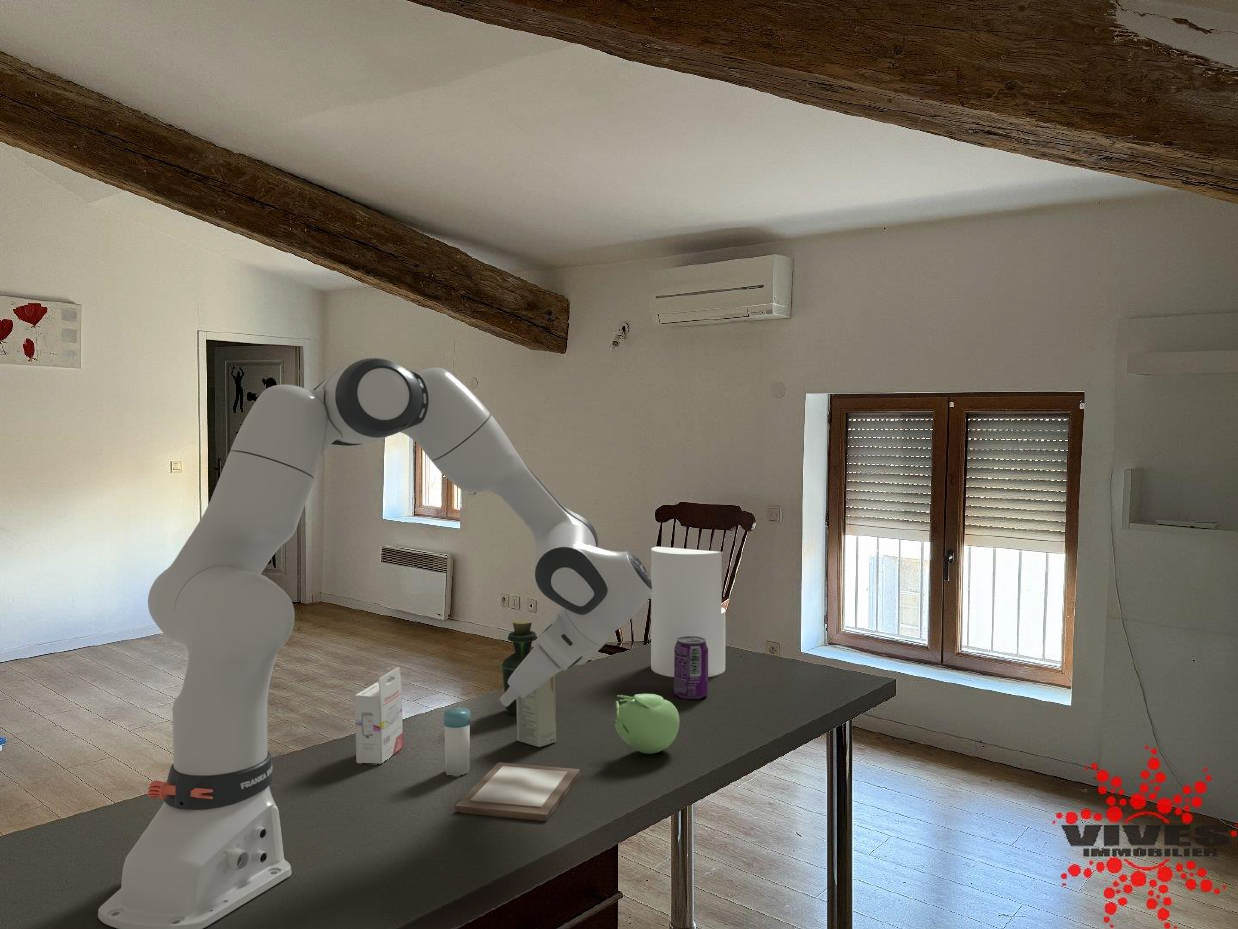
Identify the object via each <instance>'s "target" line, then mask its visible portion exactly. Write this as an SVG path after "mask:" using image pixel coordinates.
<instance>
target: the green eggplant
mask: <svg viewBox="0 0 1238 929" xmlns="http://www.w3.org/2000/svg"><path fill="white" fill-rule="evenodd" d="M616 696H617V698H621V699H619V700H616V701H615V709H616V719H614V721H615V723H614V728H615V730H616V731H617V734H618V735H619V737H620V738H621V739H622V740H623V741H624V742H625V743H626V744H627V745H630V746H633V748H634V750H636V751H638V752H639V753H642V754H650V755H651V754H657V753H661V751H664V750H665V749H667V748H668V747H670V745H671V744H672V743H673V742H674V741H675V739H676V737H677V736H678V732H679V729H680V721H681V720H680V715H679V714H680V713H679V712H678V709H677V708H676V706H675V705H674V704H673V703H672V702H671V701H669V700H667V699H664V697H663V696H661V695H658V694H655V693H637V694H634V695H633V696H629V695H624V694H620V695H619V694H617V695H616ZM625 701H626V702H625ZM619 702H624V703H622V704H619Z"/></svg>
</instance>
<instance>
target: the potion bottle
mask: <svg viewBox="0 0 1238 929" xmlns="http://www.w3.org/2000/svg"><path fill="white" fill-rule="evenodd" d="M532 623H533V621H532V620H530V619H516V620H512V625H513V629H514V630H513V631H510V632H508V636H507V641H508V642H511V643H512V645H513V648H514V652H513V653H512V654H509V656H507V657H506V658H504V659H503V662H502V663H501V669H502V670H501V671H502V681H503V690H504V693H505V692H506V691H507V690H508V688H509V687H510V686H509V684H508V680H509V678H510V676H511V675H512V673H513V672H514V671H515V670H516V668H517V667H518V666H519V665H520V664H521V662H522V661H523V660H524V659H525V658H526V656H527V655H528V654H529V653H530V652H531V648H532V645H533V644H532V643H533V642H534V641H537V639H538V636H537V633H536V632H535V631H533V630H532V629H531V628H532ZM504 693H503V694H504ZM505 711H506V713H507V714H508V715H510V716H515V717H517V704H516V699H515V700H514V701H513V702H512V703H511V704H510V705H509V706H505Z"/></svg>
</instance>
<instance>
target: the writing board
mask: <svg viewBox="0 0 1238 929" xmlns="http://www.w3.org/2000/svg"><path fill="white" fill-rule="evenodd" d="M580 776H581V769H580V768H579V769H578V768H568V767H559V766H545V765H534V764H523V763H521V764H520V763H509V762H500V761H498V762H497V763H496V764H495V765H494V766H493V767H492V768H491V769H490V770H489V771H488V772H487V773H486V774H485V775H484V776H483V777H482V778H481V779H480V781H478V782H477V783H476V784H475V785H474V786H473V787H472V789H470V791H469V792H467V794H465V795H464V796H463V798H461V799H460V800H459V801H458V803H457V804H455V806H454V807H455V810H454V812H455V813H457V812H460V813H459V814H467V815H477V816H488V817H498V818H500V817H501V818H510V819H517V820H527V821H528V820H531V821H538V822H539V821H541V822H547V821H548V820H549V819H550V818H551V816H552V815H553V813H554V812H555V811H556V809H557V808H558V807H559V805H560V804H561V802H562V801H563V799H564V798H565V797H566V795H567V794H568V793H569V792H570V789H572V787H573V786H574V785H575V783H576V782H577V780H578V779H579V778H580ZM468 813H469V814H468Z"/></svg>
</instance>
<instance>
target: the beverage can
mask: <svg viewBox="0 0 1238 929" xmlns="http://www.w3.org/2000/svg"><path fill="white" fill-rule="evenodd" d="M673 680H674V681H673V682H674V683H673V685H674V686H673V690H674V691H673V693H674V694H675V695H677V696H678V697H680V698H681V699H685V700H699V699H702V698H703V697H706V696H707V695H709V677H708V647H707V644H706V639H705V638H702V637H697V636H683V637H679V638H677V643H676V645H675V647H674V677H673Z"/></svg>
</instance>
